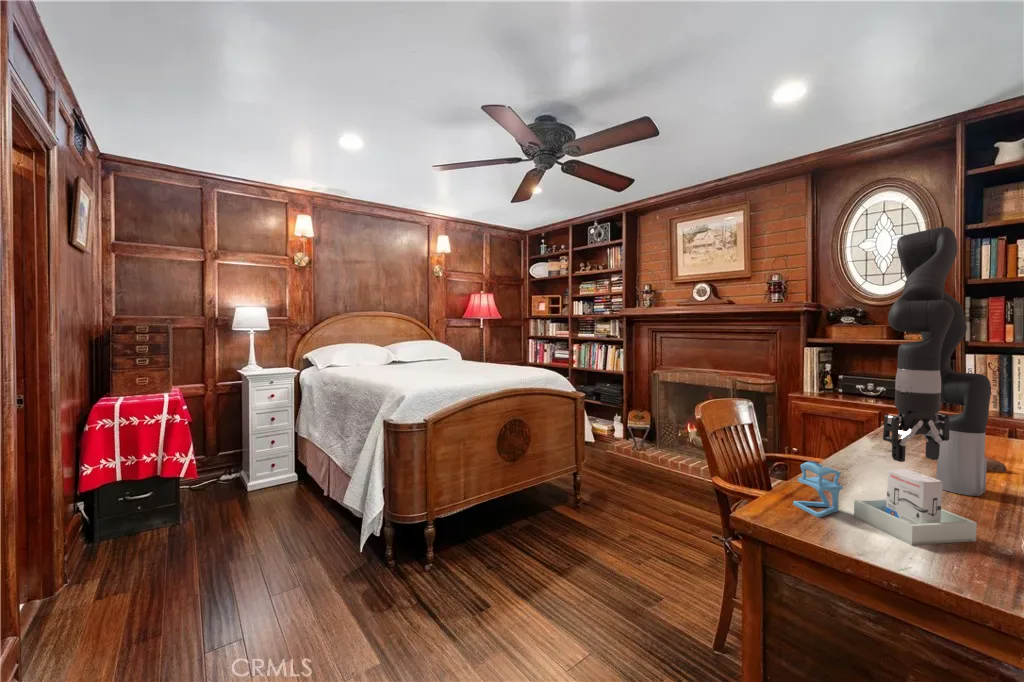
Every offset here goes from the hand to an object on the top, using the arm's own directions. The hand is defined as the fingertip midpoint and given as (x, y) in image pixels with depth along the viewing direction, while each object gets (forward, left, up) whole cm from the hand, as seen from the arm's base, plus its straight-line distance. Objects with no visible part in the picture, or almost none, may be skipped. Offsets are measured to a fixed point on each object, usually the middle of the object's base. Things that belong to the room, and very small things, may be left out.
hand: (915, 460), depth 98 cm
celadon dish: (0, 0, -16) cm, 16 cm away
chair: (+13, -11, -16) cm, 24 cm away
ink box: (0, 0, -16) cm, 16 cm away
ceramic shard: (-63, -39, -16) cm, 76 cm away
